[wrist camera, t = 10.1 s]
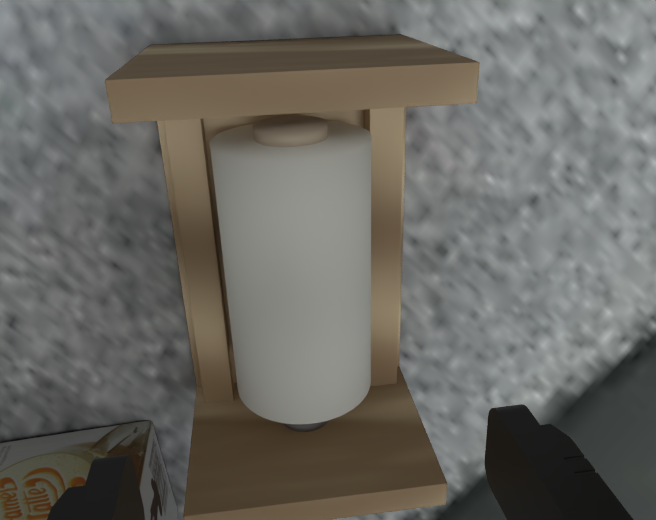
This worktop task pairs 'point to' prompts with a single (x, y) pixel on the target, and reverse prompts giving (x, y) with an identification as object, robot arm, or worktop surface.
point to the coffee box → (80, 469)
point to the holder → (209, 278)
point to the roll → (297, 263)
